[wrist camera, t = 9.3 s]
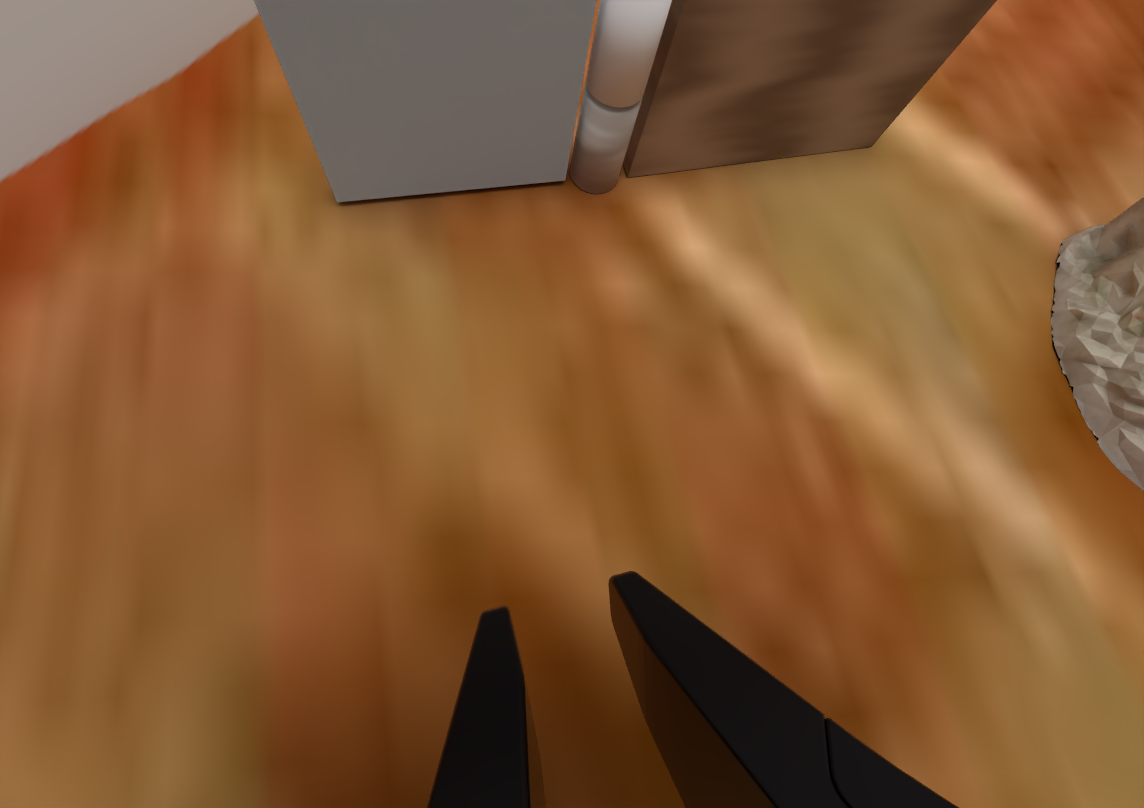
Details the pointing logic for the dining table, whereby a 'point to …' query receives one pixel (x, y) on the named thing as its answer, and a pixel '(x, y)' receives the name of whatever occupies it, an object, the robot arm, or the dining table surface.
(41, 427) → the dining table surface
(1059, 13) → the dining table surface
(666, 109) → the walnut leaf
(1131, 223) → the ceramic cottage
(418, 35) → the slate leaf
